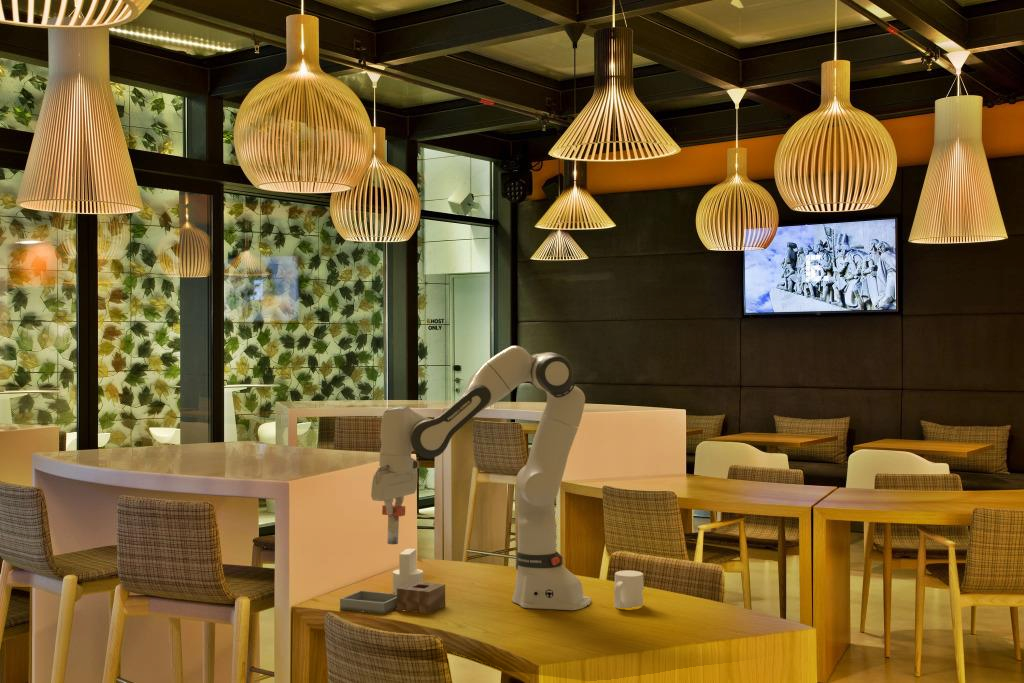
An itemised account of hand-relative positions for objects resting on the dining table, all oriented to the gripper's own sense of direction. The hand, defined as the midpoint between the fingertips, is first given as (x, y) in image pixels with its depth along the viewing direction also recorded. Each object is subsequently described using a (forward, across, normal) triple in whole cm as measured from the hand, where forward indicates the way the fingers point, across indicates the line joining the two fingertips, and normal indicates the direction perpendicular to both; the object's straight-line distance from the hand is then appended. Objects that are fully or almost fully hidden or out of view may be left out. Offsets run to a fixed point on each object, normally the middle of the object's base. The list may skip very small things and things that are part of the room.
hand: (393, 513), depth 295 cm
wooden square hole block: (+26, +3, -8) cm, 28 cm away
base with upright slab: (+27, +20, +5) cm, 33 cm away
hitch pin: (+8, 0, 0) cm, 8 cm away
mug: (+25, +26, -61) cm, 71 cm away
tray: (+27, -2, +5) cm, 27 cm away
